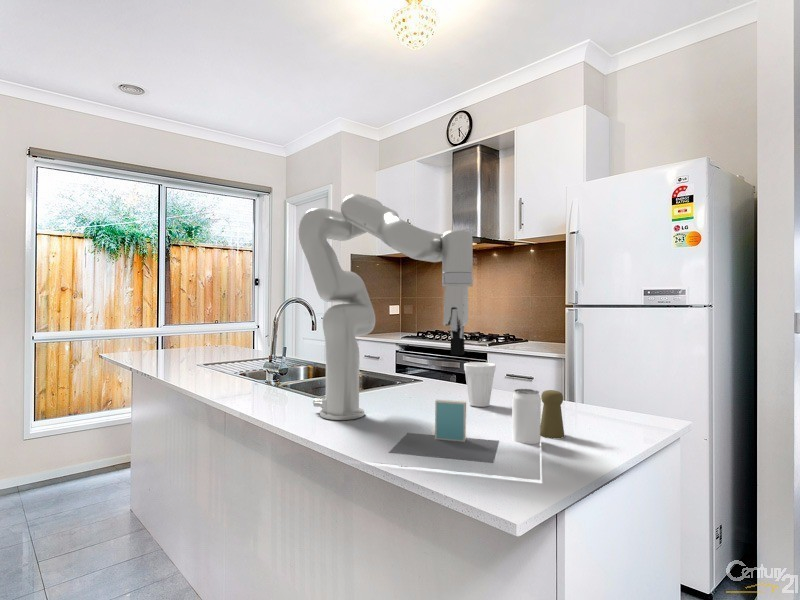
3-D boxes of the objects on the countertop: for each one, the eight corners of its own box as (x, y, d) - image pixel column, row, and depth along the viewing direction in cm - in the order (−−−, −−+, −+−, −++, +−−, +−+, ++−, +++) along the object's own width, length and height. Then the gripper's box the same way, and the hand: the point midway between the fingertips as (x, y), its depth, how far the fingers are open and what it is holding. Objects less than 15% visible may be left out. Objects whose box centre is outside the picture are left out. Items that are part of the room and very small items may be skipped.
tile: (434, 439, 114) (435, 400, 114) (436, 437, 116) (436, 399, 116) (464, 441, 112) (465, 402, 112) (465, 439, 114) (466, 401, 114)
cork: (551, 439, 117) (552, 393, 117) (533, 433, 122) (534, 389, 122) (570, 436, 120) (570, 391, 120) (551, 430, 125) (552, 387, 125)
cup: (475, 400, 161) (475, 361, 161) (501, 405, 154) (502, 364, 154) (456, 405, 153) (457, 363, 153) (483, 410, 146) (483, 367, 146)
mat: (388, 455, 104) (388, 452, 104) (407, 435, 120) (407, 432, 120) (493, 465, 98) (493, 462, 98) (499, 443, 114) (499, 440, 114)
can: (535, 447, 110) (536, 394, 110) (508, 443, 114) (508, 391, 114) (543, 440, 116) (544, 390, 116) (517, 436, 119) (517, 387, 119)
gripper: (447, 281, 129) (447, 351, 129) (436, 279, 115) (436, 357, 115) (476, 281, 127) (476, 351, 127) (468, 279, 113) (468, 358, 113)
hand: (457, 354), depth 121 cm, fingers closed
